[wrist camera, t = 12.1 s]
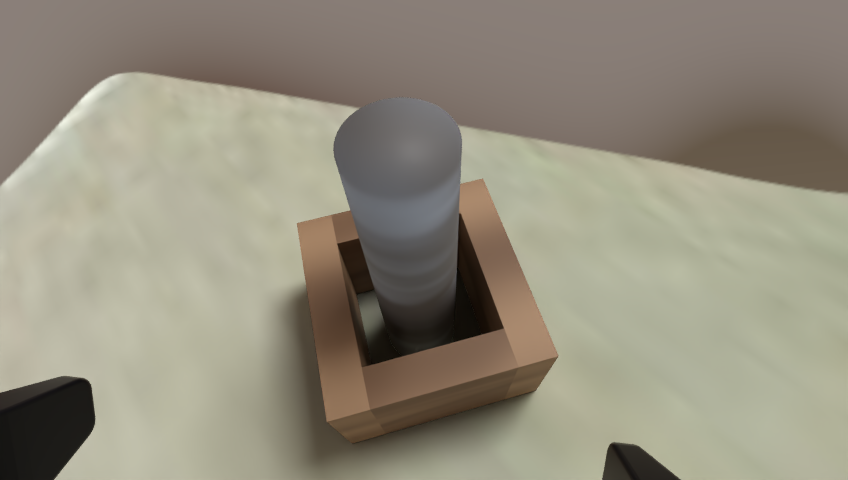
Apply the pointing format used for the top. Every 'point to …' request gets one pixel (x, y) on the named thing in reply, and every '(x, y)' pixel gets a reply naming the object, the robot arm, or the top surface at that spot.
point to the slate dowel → (406, 213)
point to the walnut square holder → (434, 368)
